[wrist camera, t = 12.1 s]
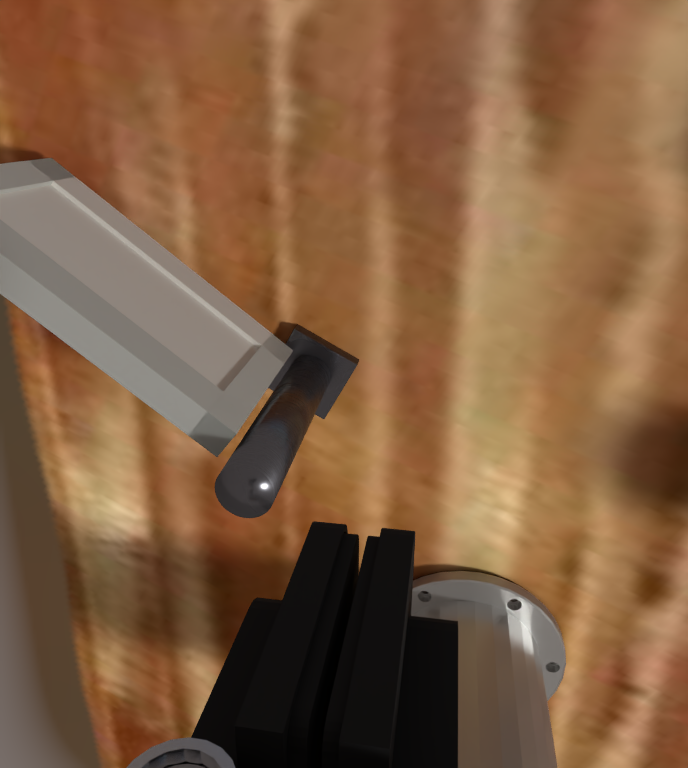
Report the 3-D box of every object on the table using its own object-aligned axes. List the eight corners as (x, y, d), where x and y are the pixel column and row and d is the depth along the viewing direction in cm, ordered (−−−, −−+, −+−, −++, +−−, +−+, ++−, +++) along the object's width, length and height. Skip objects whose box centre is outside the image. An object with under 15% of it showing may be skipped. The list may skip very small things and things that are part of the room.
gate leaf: (293, 350, 35) (236, 433, 26) (277, 369, 36) (217, 457, 27) (51, 157, 33) (-102, 175, 24) (39, 181, 34) (-114, 207, 25)
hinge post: (326, 413, 38) (267, 550, 26) (267, 379, 38) (180, 503, 26) (359, 359, 36) (311, 480, 24) (297, 324, 36) (219, 428, 24)
